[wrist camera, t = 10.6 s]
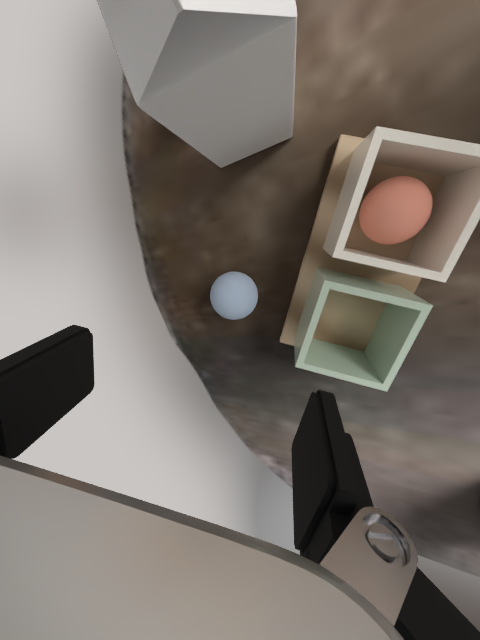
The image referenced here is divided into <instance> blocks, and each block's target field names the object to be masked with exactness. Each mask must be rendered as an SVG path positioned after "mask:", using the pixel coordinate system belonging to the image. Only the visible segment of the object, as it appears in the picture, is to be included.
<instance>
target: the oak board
mask: <svg viewBox="0 0 480 640" xmlns="http://www.w3.org/2000/svg"><path fill="white" fill-rule="evenodd" d="M364 139H365V138H360V137H354V136H349V135H343V134H341V136H340V137H339V139H338V143H337V146H336V150H335V153H334V156H333V160H332V163H331V167H330V170H329V173H328V177H327V180H326V183H325V187H324V190H323V194H322V197H321V200H320V204H319V207H318V211H317V214H316V217H315V221H314V224H313V228H312V231H311V234H310V238H309V241H308V245H307V248H306V251H305V255H304V258H303V262H302V265H301V268H300V272H299V275H298V279H297V282H296V285H295V289H294V292H293V296H292V299H291V302H290V306H289V309H288V313H287V316H286V319H285V323H284V326H283V330H282V333H281V336H280V342H281V343H285V344H289V345H292V346H294V337H295V334H296V331H297V327H298V324H299V321H300V318H301V315H302V312H303V309H304V306H305V302H306V299H307V296H308V293H309V290H310V287H311V284H312V281H313V277H314V274H315V271H316V268H317V267H320V268H324V269H329V270H333V271H337V272H342V273H346V274H350V275H355V276H359V277H363V278H368V279H372V280H376V281H381V282H385V283H389V284H394V285H398V286H402V287H403V288H405V289H407V290H408V291H410V292H411V293H413V294H414V293H415V291H416V289H417V287H418V285H419V283H420V281H421V279H422V277H418V276H414V275H409V274H405V273H401V272H396V271H392V270H387V269H383V268H378V267H374V266H370V265H365V264H361V263H356V262H352V261H348V260H343V259H339V258H334V257H332V256H331V255H329V254H328V253H327V252H326V251H325V250H324V249H323V246H324V243H325V240H326V237H327V234H328V231H329V227H330V224H331V221H332V218H333V215H334V212H335V209H336V206H337V202H338V199H339V196H340V193H341V190H342V187H343V184H344V180H345V177H346V174H347V171H348V168H349V165H350V162H351V159H352V155H353V152H354V150H355V149H356V148H357V146H358V145H359V144H360V143H361V142H362V141H363V140H364ZM398 176H409V177H413V178H416V179H418V180H420V181H422V182H423V183H424V184H425V185H426V186H427V187H428V189H429V190H430V192H431V195H432V200H434V198H435V196H436V193H437V191H438V189H439V187H440V185H441V182H442V180H443V178H444V176H443V175H438V174H432V173H427V172H422V171H417V170H411V169H406V168H401V167H396V166H390V165H385V164H380V163H375V162H374V165H373V167H372V170H371V173H370V176H369V179H368V182H367V184H366V187H365V190H364V193H363V196H362V199H361V201H360V204H359V207H358V210H357V213H356V216H355V218H354V221H353V224H352V227H351V230H350V233H349V236H348V238H347V241H346V244H345V247H349V248H353V249H358V250H362V251H367V252H371V253H376V254H380V255H385V256H389V257H394V258H398V259H403V260H406V259H407V257H408V255H409V253H410V250H411V248H412V246H413V244H414V242H415V239H416V237H417V235H418V233H419V232H418V233H417V234H416V235H414V236H413V237H412V238H410V239H408V240H406V241H404V242H401V243H397V244H380V243H376V242H374V241H372V240H371V239H369V238H368V237H367V236H366V235H365V234H364V233H363V231H362V229H361V227H360V223H359V212H360V207H361V205H362V202H363V200H364V199H365V197H366V196H367V194H368V193H369V192H370V191H371V190H372V189H373V188H374V187H375V186H376V185H378V184H379V183H381V182H383V181H384V180H387V179H389V178H393V177H398ZM385 305H386V302H381V301H377V300H373V299H369V298H365V297H360V296H356V295H352V294H348V293H344V292H339V291H335V290H331V289H329V292H328V295H327V298H326V301H325V304H324V306H323V309H322V312H321V315H320V318H319V321H318V324H317V326H316V329H315V332H314V335H313V338H314V339H318V340H322V341H326V342H329V343H333V344H337V345H341V346H345V347H349V348H353V349H357V350H361V351H365V349H366V347H367V345H368V342H369V340H370V338H371V336H372V334H373V331H374V329H375V327H376V325H377V323H378V320H379V318H380V316H381V314H382V312H383V310H384V307H385Z"/></svg>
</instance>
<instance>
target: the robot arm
mask: <svg viewBox="0 0 480 640" xmlns="http://www.w3.org/2000/svg"><path fill="white" fill-rule="evenodd" d="M93 362H94V361H93V335H92V333H90V331H89V329H88V328H84V327H80V326H77V325H72V326H70V327H67V328H65V329H63V330H61V331H59V332H57V333H55V334H53V335H51V336H49V337H47V338H45V339H42V340H40V341H38V342H36V343H34V344H32V345H30V346H28V347H26V348H24V349H22V350H20V351H18V352H16V353H14V354H12V355H9V356H7V357H5V358H3V359H1V360H0V640H480V632H479V631H478V630H477V629H476V628H475V627H474V626H473V625H472V624H471V623H470V622H469V621H468V619H467V618H466V617H465V616H464V615H463V614H462V613H461V612H460V611H459V610H458V609H457V608H456V607H455V606H454V605H453V604H452V603H451V602H450V601H449V600H448V599H447V598H446V597H445V595H444V594H443V593H442V592H441V591H440V590H439V589H438V588H437V587H436V586H435V585H434V584H433V583H432V582H431V581H430V580H429V579H428V578H427V577H426V576H425V575H424V574H423V572H422V571H421V570H420V569H418V567H417V563H418V558H417V552H416V548H415V546H414V544H413V542H412V540H411V538H410V536H409V535H408V533H407V532H406V531H405V529H404V528H403V527H402V526H401V525H400V524H399V523H398V521H397V520H396V519H394V518H393V517H392V516H390V515H389V514H388V513H386V512H384V511H382V510H380V509H378V508H374V507H373V503H372V500H371V497H370V494H369V490H368V487H367V484H366V481H365V478H364V474H363V471H362V468H361V465H360V461H359V458H358V455H357V452H356V448H355V445H354V442H353V439H352V437H351V435H350V434H348V433H345V432H344V428H343V425H342V421H341V417H340V414H339V410H338V407H337V403H336V400H335V396H334V394H333V393H329V392H325V391H322V390H318V391H317V393H315V392H312V393H311V396H310V398H309V401H308V404H307V406H306V409H305V411H304V414H303V417H302V419H301V422H300V425H299V427H298V430H297V433H296V435H295V438H294V440H293V444H292V479H293V515H294V545H295V549H297V550H300V555H299V554H296V553H294V552H291V551H289V550H286V549H284V548H281V547H279V546H277V545H273V544H271V543H268V542H266V541H263V540H260V539H257V538H254V537H251V536H248V535H245V534H242V533H240V532H237V531H234V530H231V529H228V528H225V527H222V526H219V525H216V524H213V523H210V522H207V521H204V520H201V519H198V518H195V517H191V516H188V515H185V514H182V513H179V512H176V511H173V510H170V509H167V508H164V507H161V506H158V505H154V504H151V503H148V502H145V501H142V500H139V499H136V498H133V497H129V496H126V495H123V494H120V493H117V492H114V491H110V490H108V489H104V488H101V487H98V486H95V485H92V484H89V483H86V482H82V481H79V480H76V479H73V478H70V477H67V476H64V475H60V474H57V473H54V472H51V471H48V470H45V469H41V468H38V467H35V466H32V465H28V464H25V463H22V462H18V461H16V460H12V458H16V457H17V456H19V455H20V454H21V453H22V452H23V451H24V450H25V449H27V448H28V447H29V446H30V445H31V444H32V443H34V442H35V441H36V440H37V439H38V438H39V437H40V436H42V435H43V434H44V433H45V432H46V431H47V430H48V429H49V428H51V427H52V426H53V425H54V424H55V423H56V422H58V420H60V419H61V418H62V417H63V416H64V415H65V414H67V413H68V412H69V411H70V410H71V409H72V408H74V407H75V406H76V405H77V404H78V403H79V402H80V401H82V400H83V399H84V398H85V397H86V396H87V395H88V394H90V392H91V391H92V390H93V388H94V363H93Z"/></svg>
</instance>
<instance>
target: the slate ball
mask: <svg viewBox="0 0 480 640" xmlns="http://www.w3.org/2000/svg"><path fill="white" fill-rule="evenodd" d="M210 300H211V304H212V306H213V308H214V309H215V311H216V312H217V313H218V314H219V315H221V316H222V317H224V318H227V319H231V320H237V319H242V318H244V317H246V316H248V315H249V314H250V313H251V312H252V311H253V310H254V308H255V307H256V304H257V301H258V291H257V287H256V285H255V283H254V282H253V280H252V279H251V278H250V277H249V276H247V275H246V274H244V273H241V272H227V273H225V274H223V275H221V276H219V277H218V278H217V279H216V280H215V282H214V283H213V285H212V288H211V291H210Z"/></svg>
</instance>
